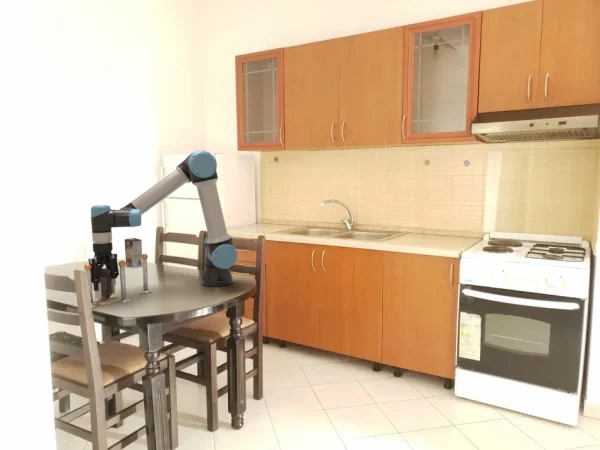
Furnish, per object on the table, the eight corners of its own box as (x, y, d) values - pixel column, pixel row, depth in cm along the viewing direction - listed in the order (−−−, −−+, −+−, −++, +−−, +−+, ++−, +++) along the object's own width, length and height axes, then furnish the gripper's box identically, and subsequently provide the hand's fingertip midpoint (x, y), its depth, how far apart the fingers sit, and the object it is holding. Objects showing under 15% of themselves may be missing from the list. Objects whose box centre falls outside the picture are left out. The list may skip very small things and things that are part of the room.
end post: (100, 305, 179) (97, 262, 177) (90, 309, 174) (87, 265, 172) (90, 304, 181) (87, 262, 178) (80, 307, 176) (77, 264, 174)
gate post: (153, 291, 201) (152, 253, 199) (146, 293, 196) (145, 254, 195) (145, 290, 203) (143, 252, 201) (137, 292, 198) (136, 254, 196)
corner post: (132, 300, 188) (130, 259, 186) (124, 303, 184) (122, 262, 182) (123, 299, 190) (121, 259, 188) (115, 302, 185) (112, 261, 183)
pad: (122, 299, 188) (122, 297, 188) (104, 305, 179) (104, 304, 179) (106, 297, 191) (106, 295, 191) (88, 303, 182) (87, 302, 182)
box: (110, 298, 183) (108, 270, 181) (98, 299, 182) (96, 271, 180) (112, 294, 188) (110, 267, 187) (101, 295, 187) (99, 268, 186)
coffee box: (125, 265, 258) (123, 239, 256) (135, 264, 263) (134, 237, 261) (132, 267, 252) (131, 240, 250) (143, 266, 257) (142, 239, 255)
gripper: (113, 238, 193) (115, 289, 195) (75, 245, 174) (79, 301, 177) (126, 239, 190) (129, 290, 193) (90, 246, 172) (93, 303, 174)
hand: (105, 295), depth 185 cm, fingers closed on box, 7 cm apart
